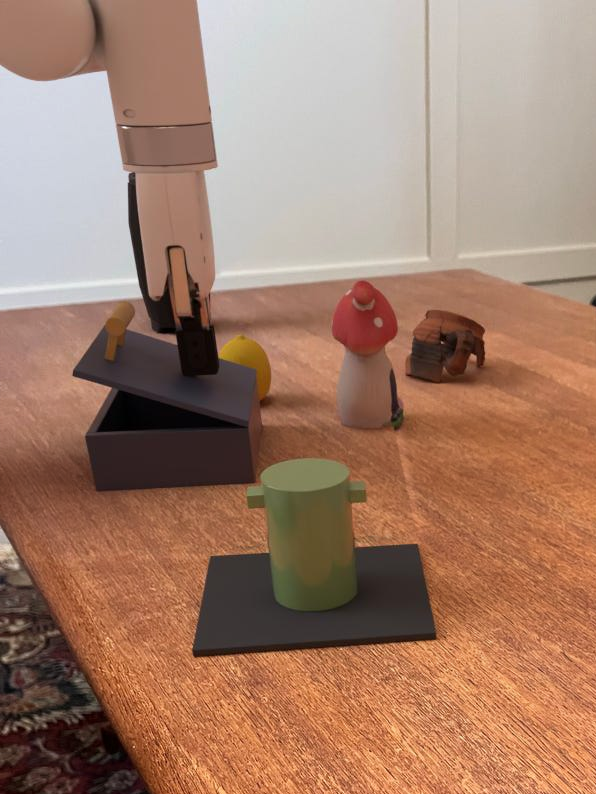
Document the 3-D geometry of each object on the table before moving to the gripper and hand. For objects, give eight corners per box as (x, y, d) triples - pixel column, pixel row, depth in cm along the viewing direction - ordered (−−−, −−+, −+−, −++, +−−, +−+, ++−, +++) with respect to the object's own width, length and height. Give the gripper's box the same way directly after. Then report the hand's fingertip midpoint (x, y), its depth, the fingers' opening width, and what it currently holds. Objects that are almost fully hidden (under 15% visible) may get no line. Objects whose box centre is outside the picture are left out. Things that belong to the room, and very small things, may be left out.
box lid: (71, 376, 83) (81, 324, 81) (104, 328, 96) (113, 283, 94) (247, 427, 87) (259, 379, 85) (255, 375, 100) (266, 332, 98)
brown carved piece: (387, 373, 123) (407, 306, 122) (454, 399, 127) (473, 335, 127) (428, 372, 112) (450, 299, 112) (499, 400, 117) (520, 331, 116)
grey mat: (193, 656, 66) (192, 650, 66) (210, 561, 78) (210, 555, 78) (436, 639, 68) (436, 632, 68) (417, 548, 80) (417, 543, 80)
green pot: (257, 615, 70) (242, 494, 65) (261, 575, 75) (247, 460, 70) (374, 607, 71) (366, 487, 66) (369, 569, 76) (362, 455, 71)
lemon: (214, 415, 108) (203, 339, 104) (236, 399, 112) (227, 326, 108) (262, 419, 107) (253, 343, 103) (283, 403, 111) (275, 329, 107)
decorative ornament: (386, 442, 101) (379, 286, 93) (324, 437, 102) (312, 282, 94) (413, 413, 108) (408, 266, 101) (355, 408, 110) (346, 263, 102)
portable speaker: (139, 325, 141) (113, 171, 131) (205, 317, 145) (184, 167, 135) (156, 339, 134) (130, 178, 124) (225, 330, 139) (205, 173, 129)
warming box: (97, 499, 88) (84, 435, 85) (125, 438, 102) (114, 381, 99) (256, 491, 90) (248, 428, 87) (263, 432, 103) (256, 375, 100)
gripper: (134, 141, 88) (168, 352, 98) (104, 159, 76) (147, 400, 85) (222, 139, 89) (247, 349, 99) (207, 157, 76) (238, 396, 86)
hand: (201, 372), depth 92 cm, fingers closed
